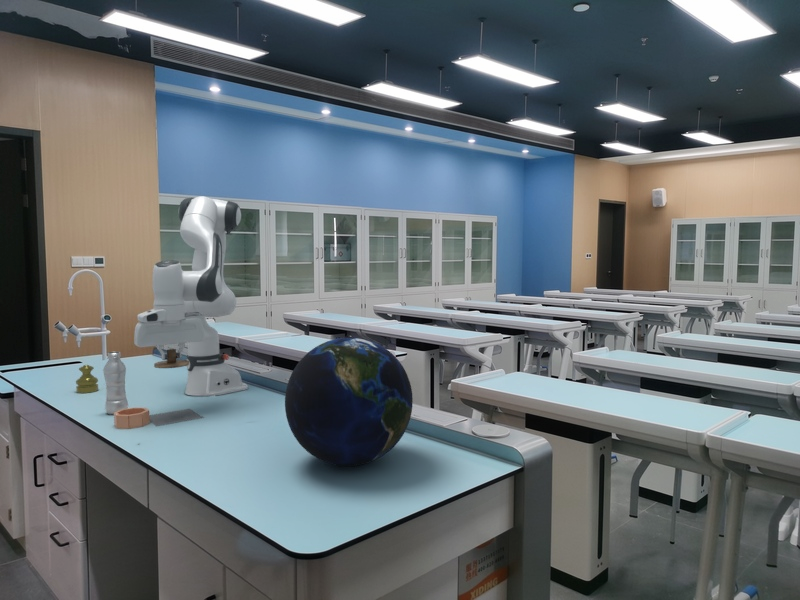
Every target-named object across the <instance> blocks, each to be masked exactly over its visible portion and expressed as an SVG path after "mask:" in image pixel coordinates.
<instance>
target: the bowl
mask: <svg viewBox="0 0 800 600" xmlns="http://www.w3.org/2000/svg"><path fill="white" fill-rule="evenodd" d="M150 415H151V414H150V409H149V408H147V407H128V409H122V410H119V411H117V412H114V415H113V424H114V425H113V426H114V427H115V428H116V429H118V430H119V429H120V430H121V429H122V430H129V429H130V430H131V429H136V428H141V427H144V426H146V425H149V424H150V423H151V422H150Z"/></svg>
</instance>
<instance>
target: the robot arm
mask: <svg viewBox="0 0 800 600" xmlns="http://www.w3.org/2000/svg"><path fill="white" fill-rule="evenodd" d="M178 217H179V221H180V222H181V223H180V228H179V234H180V237H181V239H182V240H183V242H184V243H185V244H186V245H187V246H188V247H190V248H192V249H194V251H193V257H192V263H191V270H183V268H182V265H181V262H180V261H178V260H173V259H172V260H169V259H168V260H162V261H158V262H156V263H155V264H154V265H153V271H152V293H153V296H154V301H153V308H152V309H149V310H146V311H144V312H141V313H138V314H137V321H138V322H137V323H136V325H135V327H134V334H133V335H134V336H133V337H134V338H133V340H134V341H133V342H134V345H135V346H136V347H138V348H151V347H156V349H157V351H158V352H159V353H160V355H161V361H166V360H167V359H168V354H167V352H165V351H164V350H163V349H164V348H165V347H164V346H169V345H177V346H178V347H179V348H178V349H177V351H176V359H181V358H182V352H183V351H184V349H185V345H186V344H187V354H186V360H188V361H189V365H187V366H186V370H187V378H186V379H187V381H186V387H185V391H184V394H185V395H186V396H187V395H188V396H192V397H193V396H200V397H202V396H203V397H204V396H205V397H212V396H215V397H216V396H220V395H221V396H222V395H226V394H230V393H235V392H241V391H244V390H248V389H249V386H248V385H249V384H247V383H245V382H243V381H242V377H241V373H240V372H239V371H238V370H237V369H235V368H234V367H232V366H231V365H230V364H228V363H227V362H225V361H228V360H229V359H230V357H229V354H226V353H224V354H223V353H222V352H220V335H219V333H218V330H216V329H215V328H214V327H212V326H211V325H209V324H208V322H207V320H206V318H221V317H224V316H225V317H226V316H229V315H231V314H232V313H233V312H234V310H235V309H236V306H237V298H236V295H235V293H234V292H233V291H232V290H231V289H230V288H229V287H228V285H227V284H226V282H225V278H224V266H225V265H224V264H225V259H226V258H225V257H226V252H227V251H226V250H227V249H226V248H227V236H226V235H230V234H231V233H232V232H233V231H235V230H236V229H237V228H238V227H239V225H240V223H241V219H242V211H241V208H240V205H239V204H238V203H236V202H234V201H232V200H222V199H217V198H210V197H208V196H203V195H200V196H196V197H187V198H184V199H183V200H182V201H180V203H179V207H178Z"/></svg>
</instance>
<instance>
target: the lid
mask: <svg viewBox="0 0 800 600" xmlns="http://www.w3.org/2000/svg"><path fill="white" fill-rule="evenodd" d="M176 352H177V350H176V348H169V349H166V353H167V354H168V359H167V360H161V361H157V362H155V363H153V367H154V368H156V369H177V368H182V367H187V365H189V361H188V360H187V359H177V358H176Z"/></svg>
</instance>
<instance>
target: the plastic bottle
mask: <svg viewBox="0 0 800 600" xmlns="http://www.w3.org/2000/svg"><path fill="white" fill-rule="evenodd" d="M121 358H122V355H121V351H109V352H107V359H108V360H107V362H106V363H105V365H104V366H103V369H102V371H103V376H104V380H105V387H106V388H105V391H106V396H105V405H104V409H105V412H106V413H107V415H110V416H114V412H117V411H119V410H122V409H128V408H129V402H128V401H129V400H128V398H127V394H126V385H125V384H126V373H127V367H126V365H125V363H124V361H122V359H121Z"/></svg>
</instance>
